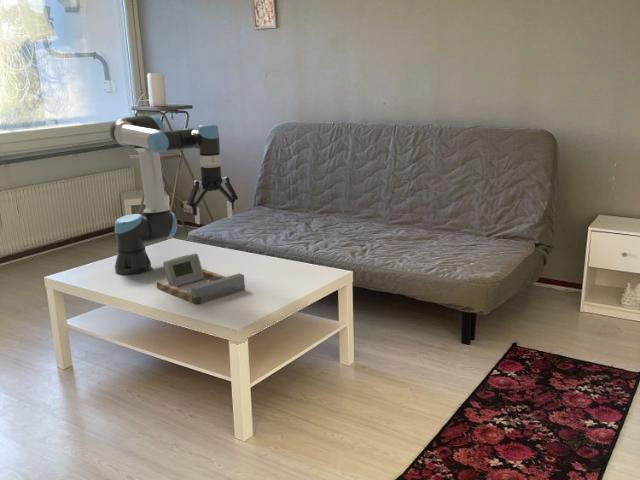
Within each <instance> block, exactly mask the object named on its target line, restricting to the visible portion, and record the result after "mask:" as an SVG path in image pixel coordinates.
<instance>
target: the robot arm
mask: <svg viewBox="0 0 640 480" xmlns="http://www.w3.org/2000/svg"><path fill="white" fill-rule="evenodd" d="M109 136H110V139H111V140H112V141H113V142H114V143H116V144H118V145H120V146H123V147H124V146H133V149H134V151H136V152H137V154H138V160H139V166H140V173H141V182H142V188H143V196H144V203H145V208H144V210H143V211H142V214H143V215H142V214H140V213H133V214H127V215H122V216H121V217H119V218H117V219H116V221H114V234H115V235H114V236H115V242H116V250H117V255H116V258H115V259H116V260H115V264H114V271H115V273H116V274H119V275H136V274H142V273H145V272H147V271H150V270H151V269H152V262H151V260H150V258H149V255H148V252H147V251H146V244H148V243H153V242H159V241H165V240H167V239H171V238H173V237H174V236H175V234H176V233H177V228H178V219H177V217H176V214H175V213H174V212H172V211H171V208H170V207H168V206H167V203H166V196H165V189H164V188H165V187H164V181H163V173H162V165H161V157H160V153H166V152H174V151H182V150H183V151H185V150H192V149H195V150H196V149H197V150H199V163H200V166H201V167H200V175H201V176H200V177H201V180H196V179H194V180H193V183H192V184H193V186H192V189H191V190H190V191H191V192H190V194H189V197H188V200H187V201H186V205H187V206H189V207H191V211H192V212H191V213H192V215H193V216H194V222H195V224H196V225H200V224H201V218H200V216H201V215H200V207H199V206H198V205H199V204H200V202H201V201H202V200H203V198H204V196H205V195H206V193H208V192H212V191H219V192H220V193H221V194H222V195H223V196H224V197H225V198H226V199H227V201H226V209H227V210H226V211H227V218H228V219H229V220H233V210H234V209H235V205H234V203H235V202H236V201H237V200H238V199H239V198H238V197H239V196H238V195H237V193H236V192H235V189H234V188H233V186H232V184H231V183H230V177H228V176H224V177H222V168H221V147H220V132H219V126H218V125H217V124H212V123H211V124H210V123H207V124H200V125H198V126H197V128H195V127H188V128H183V129H175V130H166V127H165V125H164V122H163V121H162V120H161V118H159V117H158V116H156V115H147V114H146V115H139V116H123V117H120V118H118V119H116V120H114V121H113V122H112V124H111V125H110V127H109ZM222 183H223V184H224V185H225V187H226V189H227V191H226V190H225V188H224V187H223V186H222ZM200 186H201V188H200ZM199 188H200V191H199ZM198 191H199V192H198Z"/></svg>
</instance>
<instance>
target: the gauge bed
mask: <svg viewBox="0 0 640 480" xmlns="http://www.w3.org/2000/svg"><path fill="white" fill-rule="evenodd" d="M202 271H203V275H204V279H207V280H209V281H214V280H218V279H221V278H225V277H226V276H224V275H221V274H218V273H215V272H212V271H210V270H206V269H203V268H202ZM242 286H243V285H242ZM156 288H157V289H158V290H161V291H163V292H166V293H168V294H169V295H170V294H171V295H174V296H175V297H178V298H179V299H183V300H185V301H187V302H189V303H192V304H195V305H196V304H197V303H198V302H199V301H198V300H196V299H198V298H195V297H193V298H192V295H191V291H189V290H185V289H184V288H180V287H178V286H177V287H175V286H173V285H170V284H169V283H168V282H166V281H163V280H158V281H156ZM243 289H244V288H242V291H245V290H246V288H245V289H244V290H243ZM192 299H193V300H194V299H195V300H196V301H198V302H196V301H195V300H194V301H193V300H192ZM197 305H200V304H199V303H198V304H197Z"/></svg>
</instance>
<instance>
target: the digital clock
mask: <svg viewBox="0 0 640 480" xmlns="http://www.w3.org/2000/svg"><path fill="white" fill-rule="evenodd" d="M162 265H163V268H164V272H165V276H166V279H167V283H168V284H170V285H173V286H175V287H178V288H180V287H183V286H186V285H190V284H193V283H196V282H198V281H202V280H204V279H205V278H204V275H203V271H202V269H203V268H202V265H201V261H200V257H199V254H198V253H192V254H187V255H183V256H182V255H181V256H179V257H174V258H171V259H167V260H165V261H163V264H162Z"/></svg>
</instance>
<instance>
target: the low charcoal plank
mask: <svg viewBox="0 0 640 480" xmlns="http://www.w3.org/2000/svg"><path fill="white" fill-rule="evenodd" d="M224 277H225V278H221V279H218V280H214V281H212V280H210V281H208V282H205V283H204V282H203V283H201V284H197V285H194V286H191V287H190V292H191V295H192V298H193V297H195V298H198V299H196V300H198V301H199V302H198V301H196V300H195V299H194V300H195V301H196V302H198V303H199V304H198V303H197V304H195V305H200V304H205V303H206V302H210V301H213V300H217V299H219V298H223V297H226V296H229V295H231V294H235V293H239V292H242V291H245V290H246V285H245V274H243V273H239V272H238V273H236V274H233V275H228V276H224ZM242 285H243V286H242ZM242 288H244V289H245V290H244V289H243V290H242ZM192 300H193V299H192ZM194 300H193V301H194Z"/></svg>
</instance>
